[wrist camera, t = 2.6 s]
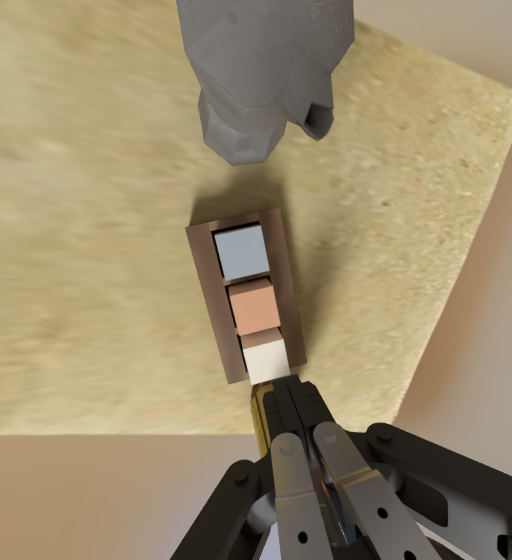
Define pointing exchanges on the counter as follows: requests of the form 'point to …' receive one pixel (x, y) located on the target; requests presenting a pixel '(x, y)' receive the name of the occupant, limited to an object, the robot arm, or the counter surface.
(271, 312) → the terracotta button
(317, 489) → the sauce bottle
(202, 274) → the brown button board
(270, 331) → the cream button
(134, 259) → the counter surface
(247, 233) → the slate button
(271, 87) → the coffeepot
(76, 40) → the counter surface
